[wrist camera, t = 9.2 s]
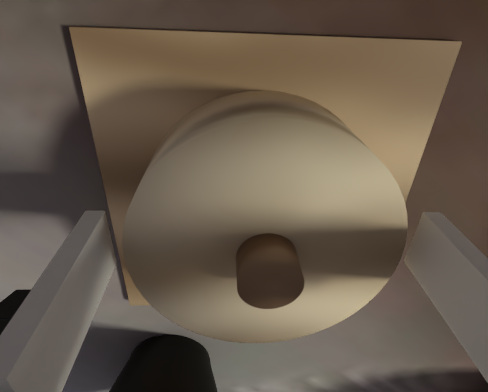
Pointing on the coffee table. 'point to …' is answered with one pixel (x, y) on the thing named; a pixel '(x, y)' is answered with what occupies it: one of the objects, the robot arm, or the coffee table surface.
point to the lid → (263, 220)
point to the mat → (251, 79)
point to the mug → (167, 367)
